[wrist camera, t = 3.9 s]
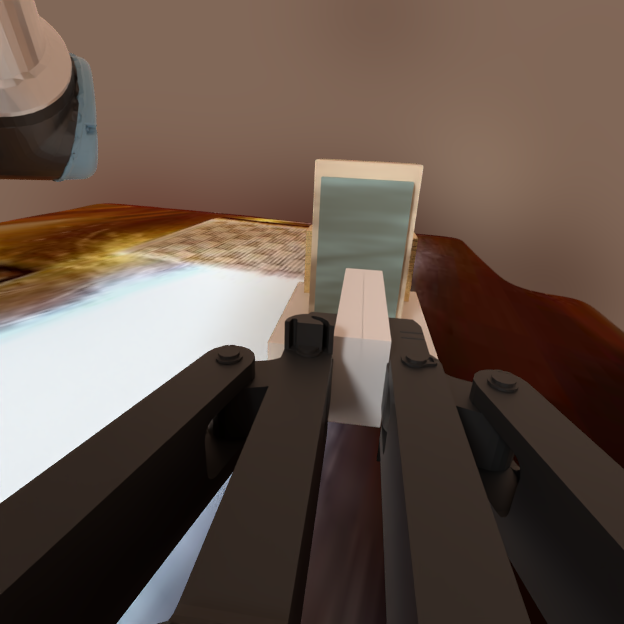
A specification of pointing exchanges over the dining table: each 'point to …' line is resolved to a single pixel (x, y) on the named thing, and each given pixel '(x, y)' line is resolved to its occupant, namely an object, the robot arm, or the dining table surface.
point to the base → (301, 306)
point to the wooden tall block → (362, 227)
